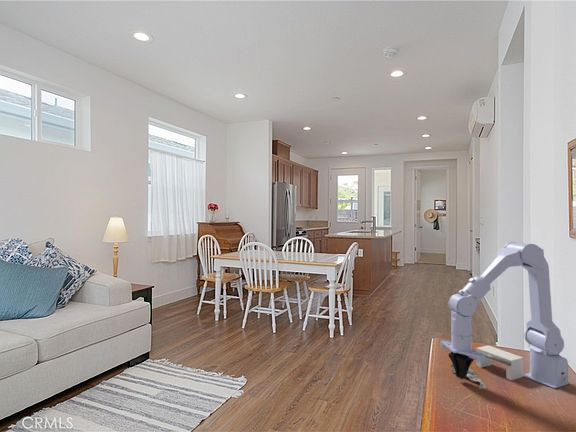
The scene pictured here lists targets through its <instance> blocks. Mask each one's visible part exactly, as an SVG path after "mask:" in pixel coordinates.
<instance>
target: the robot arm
mask: <svg viewBox="0 0 576 432" xmlns="http://www.w3.org/2000/svg"><path fill="white" fill-rule="evenodd" d="M544 252H545V250H544V248H541V247H540V246H538V245H536V244H534V243H522V242H516V241H510V242H507V243H506V244H504V246H503V247H501V249H500V250H499V252H498V255H497V256H496V257H495V259H494V260H493V261H492V262H491V263H490V265H488V267H487V268H486V269H485V270H484V271H483V273H482V274H481V275H480V276H473V277H470V278H469V279H468V282H467V284H466V285H465V286H464V287H463V288H462V289H459V291H458V293H456V294H453V295H451V296H450V298H449V300H448V301H447V306H448V308H449V309H450V313H451V314H450V315H451V320H450V321H451V322H450V323H451V325H450V327H451V328H450V329H451V330H450V331H451V334H450V335H451V336H450V337H451V340H450V341H448V340H440V344H439V347H440V348H442V349H444V348H445V349H447V350H449V351H450V352H449V353H448V357H449V359H450V361H451V362H452V363H451V364H453V366H454V369H455V372H456V373H455V376H456V378H459V379H460V380H464V379H466V378H467V377H466V376H467V372H468V369H469V368H471V365H472V363H473V361H474V360H475V361H476V360H477V362H479V363H482V362H485V355H482V354H480V353H479V352H477V351H475V350H476V349H474V348H472V345H473V344H472V343H473V341H472V340H473V339H472V338H473V337H472V336H473V334H472V328H473V327H472V322H473V318H472V316H473V314H475V312H476V311H477V306H478V304H479V302H480V301H481V300H482V299H483V298H484V297H485V296H486V295H487V294H488V293H489V292H490V291H491V284H492V283H493V282H494V281H495V280H496V279H497V278H499V277H500V276H501V275H502V274H503V273H504V272H505V271H507V269H509V268H510V267H512V268H514V267H522V268H524V269H525V270H526V271H527V273H528V288H529V289H528V291H529V305H530V320H528V321H527V322H525V323H526V329H525V331H524V340H525V341H526V343H528V347H529V372H528V373H525V374H524V373H523V377H525V378H527V379H529V380H532V381H534V382H537V383H539V384H542V385H544V386H547V387H549V388H553V389H558V388H560V387H564V386H566V385H569V384H570V381H569V362H568V359H567V358H566V357H564V356H562V355H560V354H561V353H562V352H563V350H564V348H565V341H564V338H563V337H562V335H561V329H560V328H559V327H558V326H557V325H556V323H555V322H554V321H553V313H552V312H553V311H552V309H553V307H552V296H551V281H550V280H551V279H550V269H549V268H550V266H549V263H548V261H547V260H546V257H545V254H544ZM454 369H453V370H454Z"/></svg>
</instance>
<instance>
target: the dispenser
mask: <svg viewBox="0 0 576 432" xmlns="http://www.w3.org/2000/svg"><path fill="white" fill-rule="evenodd" d="M474 350H475V351H477V352H479V353H480V354H482V355H485V362H482V363H479V362H477V360H475V362H476V364H475V365H476V367H478V368H484V367H489V366H492V365H493V361H495V362H498V363H501V364H504V365H506V366H505V369H506V370H505V372H506V373H505V374H506V376H505V377H506V380H510V381H514V380H517V379H520V378H523V377H524V357H523V356H521V355H517V354H514V353H512V352H508V351H506V350H502V349H500V348H497V347H494V346H491V345H488V344H487V345H483V346H479V347H476V348H475V349H474Z"/></svg>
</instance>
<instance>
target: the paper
mask: <svg viewBox="0 0 576 432" xmlns="http://www.w3.org/2000/svg"><path fill="white" fill-rule="evenodd" d="M449 367H450V368H451V369H452V370H453V371H452V374H456V372H455V369H454V366H453V363H451V365H450V366H449ZM479 377H480V376H479V375H478V374H477V373H476V371H474V370H473V369H472V368H471V367H469V369H468V372H467V376H466V378H469V380H470V381H471V382H479V383H480V384H479V386H478V387H479V389H483V388H484V390H486V389H487V386H486V385H485V383H484V382H483V380H482V379H481V378H479Z"/></svg>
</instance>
